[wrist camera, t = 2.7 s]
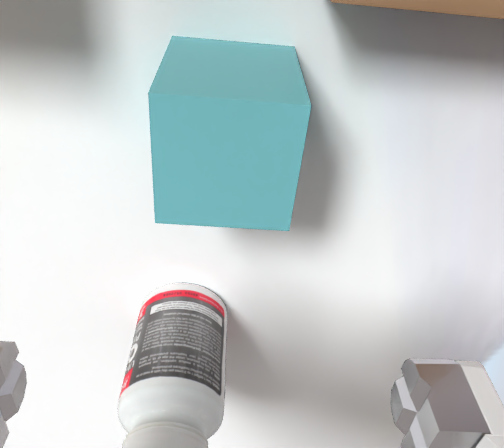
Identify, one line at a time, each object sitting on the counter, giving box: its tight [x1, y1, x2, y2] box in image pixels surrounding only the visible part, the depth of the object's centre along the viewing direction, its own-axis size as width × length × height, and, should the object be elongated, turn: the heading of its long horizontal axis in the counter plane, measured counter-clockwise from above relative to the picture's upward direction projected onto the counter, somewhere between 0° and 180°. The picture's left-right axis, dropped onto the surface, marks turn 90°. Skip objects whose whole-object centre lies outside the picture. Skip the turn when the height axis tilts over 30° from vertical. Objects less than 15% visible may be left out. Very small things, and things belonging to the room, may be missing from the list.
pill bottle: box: [118, 283, 227, 448], centre depth 25 cm, size 5×5×10 cm
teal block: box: [148, 36, 311, 231], centre depth 18 cm, size 5×5×6 cm
